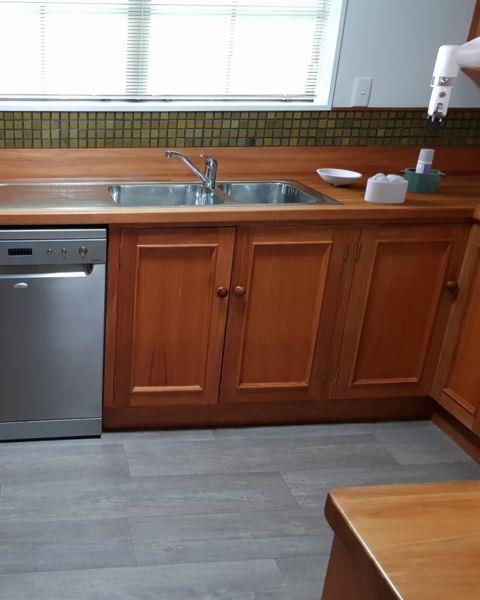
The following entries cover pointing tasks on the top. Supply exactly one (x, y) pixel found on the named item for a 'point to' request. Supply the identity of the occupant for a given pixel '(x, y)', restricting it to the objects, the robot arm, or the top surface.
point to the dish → (338, 176)
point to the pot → (422, 180)
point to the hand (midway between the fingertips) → (431, 132)
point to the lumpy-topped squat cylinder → (386, 189)
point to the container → (425, 161)
